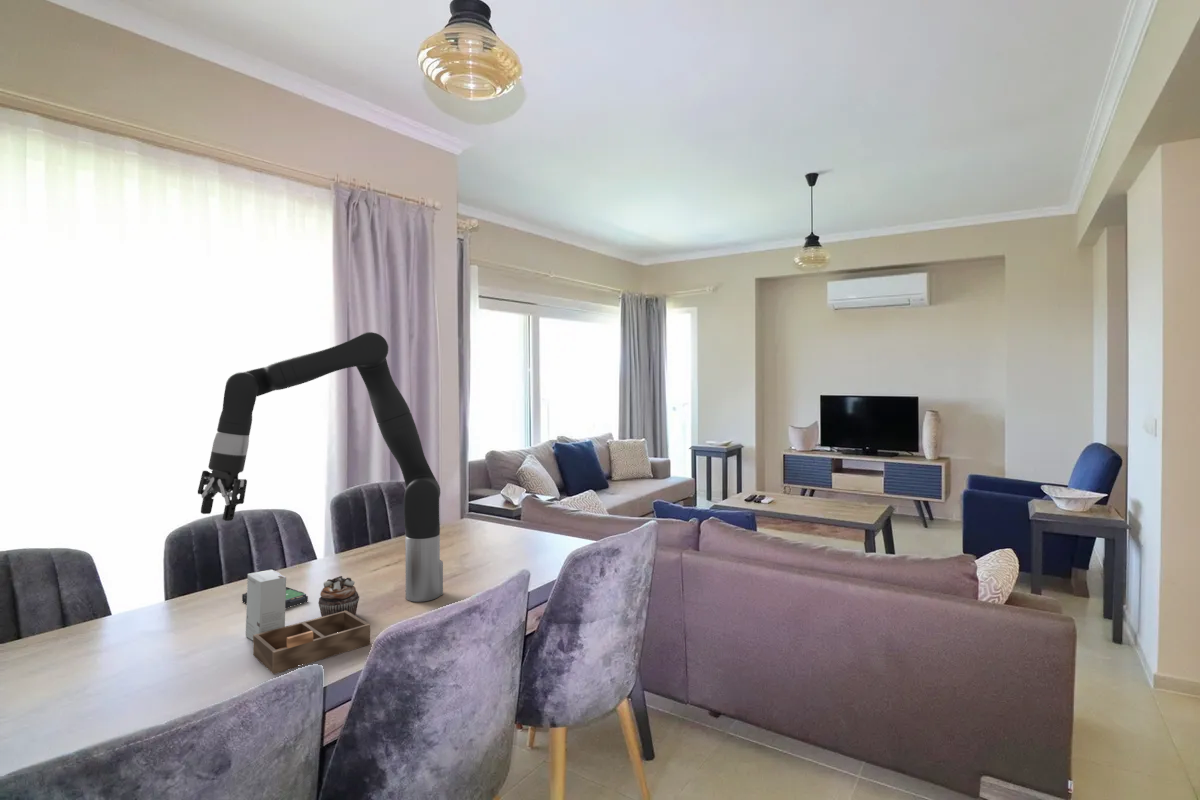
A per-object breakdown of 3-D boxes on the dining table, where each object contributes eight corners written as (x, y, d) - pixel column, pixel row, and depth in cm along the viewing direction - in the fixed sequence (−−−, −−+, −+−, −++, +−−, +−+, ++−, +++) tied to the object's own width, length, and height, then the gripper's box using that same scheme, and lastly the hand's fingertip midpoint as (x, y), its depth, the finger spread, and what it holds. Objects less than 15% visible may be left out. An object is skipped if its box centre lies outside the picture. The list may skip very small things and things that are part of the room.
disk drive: (241, 604, 166) (271, 615, 158) (240, 594, 166) (271, 604, 158) (278, 593, 175) (309, 603, 167) (278, 583, 175) (308, 592, 167)
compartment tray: (346, 628, 148) (346, 602, 148) (370, 644, 139) (370, 615, 139) (253, 655, 133) (253, 625, 133) (273, 674, 125) (273, 642, 124)
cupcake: (309, 622, 152) (309, 582, 152) (339, 609, 161) (338, 571, 161) (339, 627, 149) (338, 586, 149) (367, 614, 158) (367, 575, 158)
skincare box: (245, 637, 143) (244, 573, 143) (272, 629, 148) (271, 567, 147) (259, 646, 138) (259, 581, 137) (287, 638, 142) (287, 575, 142)
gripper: (262, 456, 152) (249, 522, 151) (225, 448, 158) (213, 510, 157) (233, 455, 145) (219, 523, 144) (196, 446, 151) (183, 511, 150)
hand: (216, 516), depth 151 cm, fingers open, 8 cm apart
